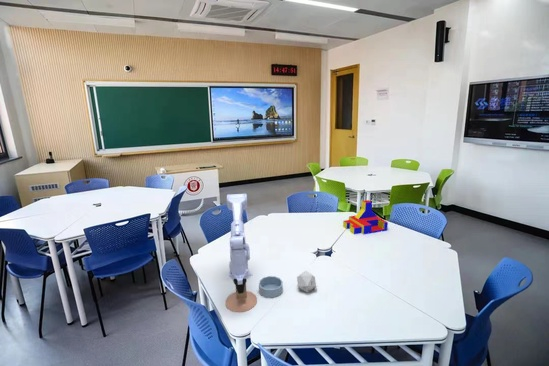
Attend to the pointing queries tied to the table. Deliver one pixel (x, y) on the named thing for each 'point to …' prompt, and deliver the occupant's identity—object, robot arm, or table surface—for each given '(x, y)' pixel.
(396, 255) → the table surface
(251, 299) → the peach round plate
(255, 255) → the table surface
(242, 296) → the walnut block
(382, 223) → the building blocks toy
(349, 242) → the table surface
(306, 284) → the die
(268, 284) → the bowl
